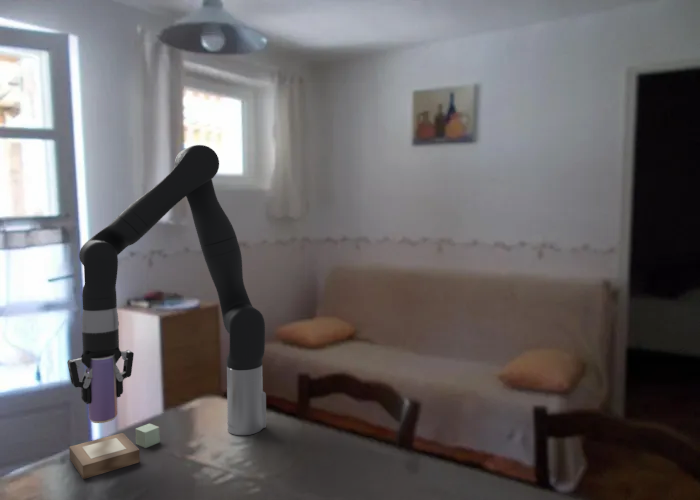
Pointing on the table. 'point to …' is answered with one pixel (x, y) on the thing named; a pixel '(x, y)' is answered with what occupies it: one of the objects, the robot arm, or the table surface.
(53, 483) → the table surface
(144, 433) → the sage cube
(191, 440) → the table surface
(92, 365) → the beverage can
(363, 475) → the table surface
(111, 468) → the walnut slab
